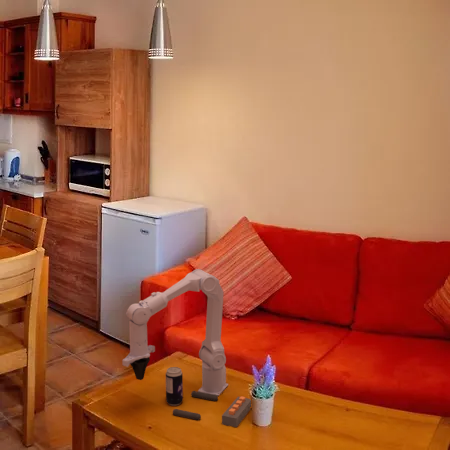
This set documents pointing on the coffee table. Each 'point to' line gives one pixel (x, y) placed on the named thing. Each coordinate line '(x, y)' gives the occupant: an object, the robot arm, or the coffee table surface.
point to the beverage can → (174, 386)
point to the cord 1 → (186, 414)
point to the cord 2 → (204, 396)
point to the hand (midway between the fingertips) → (139, 378)
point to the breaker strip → (236, 411)
